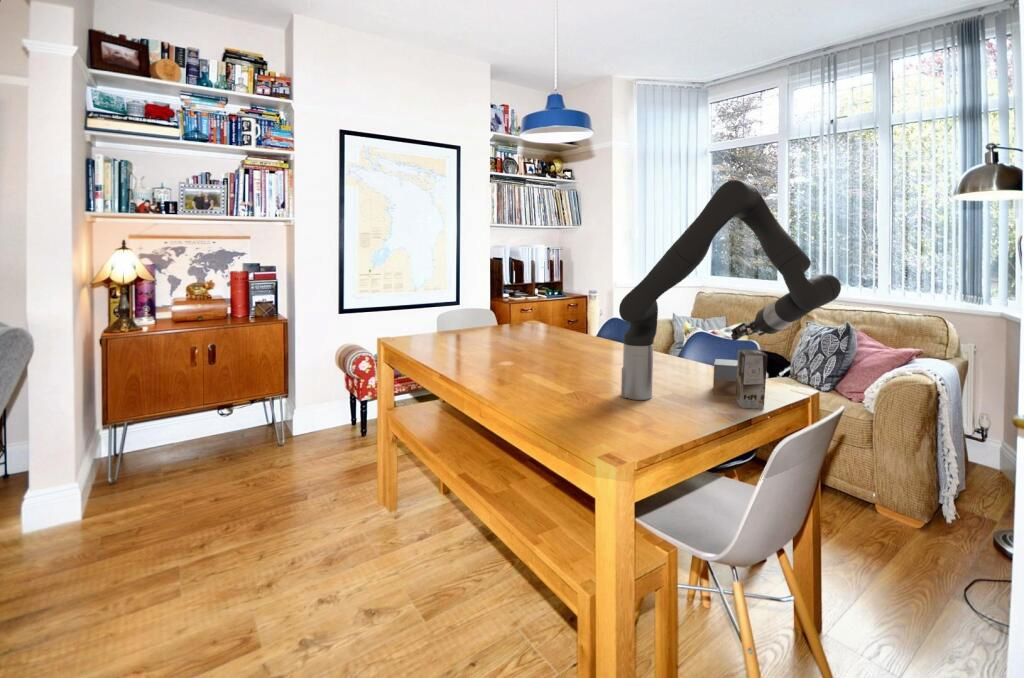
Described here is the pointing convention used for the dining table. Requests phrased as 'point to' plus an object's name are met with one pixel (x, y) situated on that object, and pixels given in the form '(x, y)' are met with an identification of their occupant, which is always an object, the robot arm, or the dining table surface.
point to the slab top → (725, 370)
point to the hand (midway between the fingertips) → (746, 335)
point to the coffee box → (751, 378)
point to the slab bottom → (724, 387)
